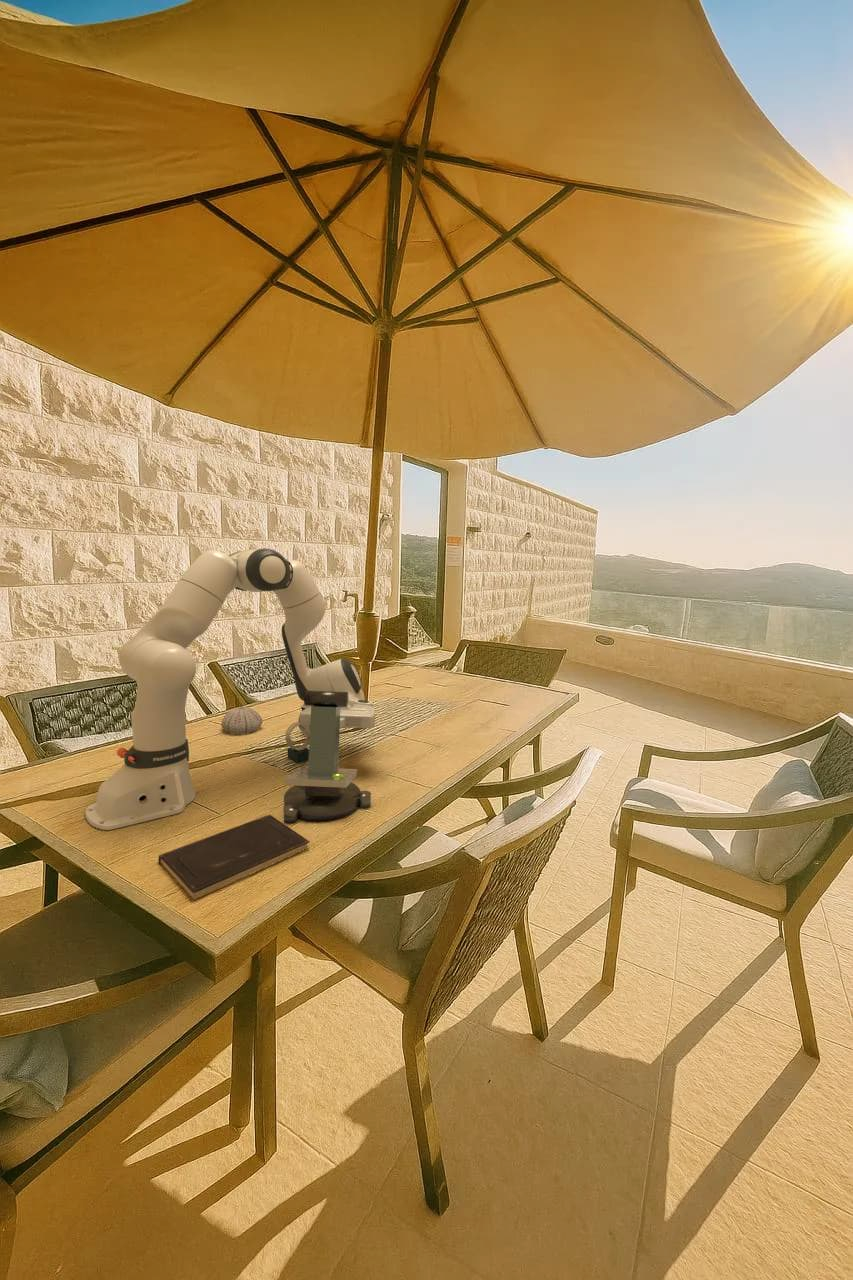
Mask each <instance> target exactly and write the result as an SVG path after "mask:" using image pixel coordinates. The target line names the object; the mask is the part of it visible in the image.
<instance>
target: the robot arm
mask: <svg viewBox="0 0 853 1280" xmlns="http://www.w3.org/2000/svg"><path fill="white" fill-rule="evenodd" d="M234 589H235V590H238V591H243V592H244V591H245V592H247V591H248V592H251V593H261V592H262V593H263V592H273V593H274V595H275V596H276V597H277V599H278V601H279V603H280V605H281V607H282V609H283V612H284V619H285V620H284V623H283V624H282V626H281V637H282V641H283V645H284V648H285V653H286V655H287V659H288V662H289V665H290V669H291V671H292V676H293V679H294V680H293V681H294V684H295V689H296V692H297V693H296V694H297V695H298V698H299V699H300V700H301V701H303V702H304V694H305V691H334V692H348V696H349V699H348V706H347V707H341V709H340V729H347V728H350V729H374V728H375V723H376V711H375V707H374V702H373V701H370V700H365V699H366V698H365V694H364V691H363V690H362V685H363V682H362V679H361V675H360V673H359V670H358V668H357V666H356V665H355V663H352V662H351V661H350V660H348V659H346V658H343V657H342V658H340V659H336V660H334V661H330V662H328V663H326V664H323V665H319V666H317V667H314V668H310V667H308V663H307V660H306V658H305V657H306V656H305V654H304V651H303V648H302V641H303V640H304V639H305V638H306V636H308V635H309V634H311V632H313V631H314V630H315V629H316V628H317V627H318V626H319V625H320V623H321V622H322V621H323V619H324V616H325V613H326V604H325V601H324V599H323V596H322V594H321V591H320V590H319V588H318V586H317V583H316V581H315V579H314V578H313V576H312V574H311V573H310V572H309V571H308V569H307V567H306V566H305V565H304V564H303V563H302V562H301V561H299V560H296V559H286V558H285V557H284V555H282V554H281V553H280V552H278V551H275V550H274V549H271V548H264V547H263V548H248V549H245V550H239V551H235V552H234V553H231V554H229V555H228V554H227V553H225V552H223V551H220V550H215V549H214V550H213V549H209V550H205V551H204V552H202V553H201V554H200V555H199V556H198V557H197V558H196V559H195V560H194V561H193V562H192V563H191V564H190V566H189V567H188V568H187V569H186V571H185V572H184V573H183V574H182V575H181V577H180V578H179V580H178V581H177V583H176V585H174V588H173V589H172V591H171V592H170V594H169V595H168V597H167V598H166V599H165V601H164V602H163V604H162V605H161V606H160V608H159V609H158V610H157V611H156V612H155V614H153V616H151V617H150V619H149V620H147V622H146V623H145V624H144V625H143V626H142V627H141V628H140V629H139V630H138V632H137V633H136V634H134V636H133V637H132V638H130V639H129V640H127V641H126V642H125V643H124V644H123V645H122V646H121V648H120V649H119V652H118V662H119V663H118V664H119V665H120V667H121V669H122V671H123V673H124V674H125V675H126V676H128V677H129V678H130V679H132V680H133V681H136V684H137V693H136V698H135V704H134V705H135V706H134V709H133V710H132V712H131V716H130V717H131V731H132V746H131V747H130V748H129V749H127V748H125V747H119V748H118V749H117V751H116V755H117V756H118V757H119V758H121V759H123V760H124V762H123V763H124V764H123V765H122V766H121V767H119V768H118V769H117V770H116V771H115V772H114V773H113V774H111V775H110V776H109V777H108V778H106V779H105V780H104V781H103V782H102V783H101V784H100V786H99V788H98V791H97V796H96V802H94V803H92V804H90V805H88V806H87V808H86V810H85V815H86V816H85V820H86V819H87V820H86V821H87V822H88V823H89V824H90V825H91V826H92V827H94V828H95V827H96V828H95V829H98V828H99V829H98V830H103V831H111V830H115V829H120V828H123V827H127V826H131V825H132V826H133V825H136V824H140V823H144V822H149V821H152V820H157V819H160V818H164V817H169V816H172V815H177V814H180V813H183V811H184V810H185V809H186V806H187V805H188V804H190V803H191V802H192V801H193V800H194V799H195V798H196V795H197V793H196V790H195V789H194V785H193V782H192V779H191V774H190V769H189V762H190V760H189V759H190V757H189V756H190V749H189V748H190V747H189V741H188V739H187V737H186V736H187V734H186V731H187V730H186V729H187V728H186V705H187V704H186V703H187V700H188V699H187V698H188V694H189V690H190V688H189V687H190V685H191V683H192V682H193V681H194V679H195V677H196V674H197V664H196V660H195V658H194V656H193V655H192V654H191V653H190V652H189V651H188V650H187V648H188V647H189V646H190V645H191V644H192V643H193V642H194V641H195V640H196V639H197V638H198V637H200V636H201V635H203V634H204V633H205V632H207V630H208V629H209V627H210V625H211V624H212V622H213V621H214V620H215V617H216V616H217V614H218V613H219V611H220V609H221V608H222V606H223V605H224V603H225V601H226V600H227V598H228V596H229V594H231V592H232V591H233V590H234ZM310 719H311V707H308V708H306V709H304V710H303V711H302V710H301V711H300V712H299V716H298V722H300V724H301V725H302V726H310Z"/></svg>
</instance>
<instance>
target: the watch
mask: <svg viewBox="0 0 853 1280" xmlns="http://www.w3.org/2000/svg"><path fill="white" fill-rule="evenodd" d="M297 727H298V728H299V730H300V732H301V733H302V735H304V737H305V740H304V742H303V743H302V744H298V745H295V744H294V742H293V740H292V737H291V734H292V732H293V731H294V729H295V728H297ZM285 731H286V732H285V735H284V736H285V739H284V740H285V742H286V743H287V745H288V747H287V759H289V760H290V761H291V762H293V761H294V762H293V763H295V764H298V763H299V764H302V763H305V762H308V759H309V739H310V727H309V726H302V725H301V724H300V722H299V721H297V722H292V724H291V725H289V726H288V727H287V729H286V730H285ZM307 747H308V748H307Z"/></svg>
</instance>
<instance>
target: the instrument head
mask: <svg viewBox="0 0 853 1280" xmlns="http://www.w3.org/2000/svg"><path fill="white" fill-rule="evenodd" d="M348 699H349V696H348V692H334V691H305V694H304V701H303V704H305V705H306V706H311V719H310V739H309V741H308V742H309V745H308V749H309V759H308V761H307V762H308V763H307V766H302V767H300V768H298V769H297V770H295V771H294V772H292V773H291V774H289V775H288V776H286V777H285V778H284V784H283V785H284V786H294V785H295V786H317V787H340V788H346V787H347V786H348V785H349V784H350V783H351V782H353V780H354V779H355V778H356V777H357V776H358V769H357V768H339V753H340V751H339V747H340V746H339V745H340V729H341V728H340V709H341V707H347V706H348Z"/></svg>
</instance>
